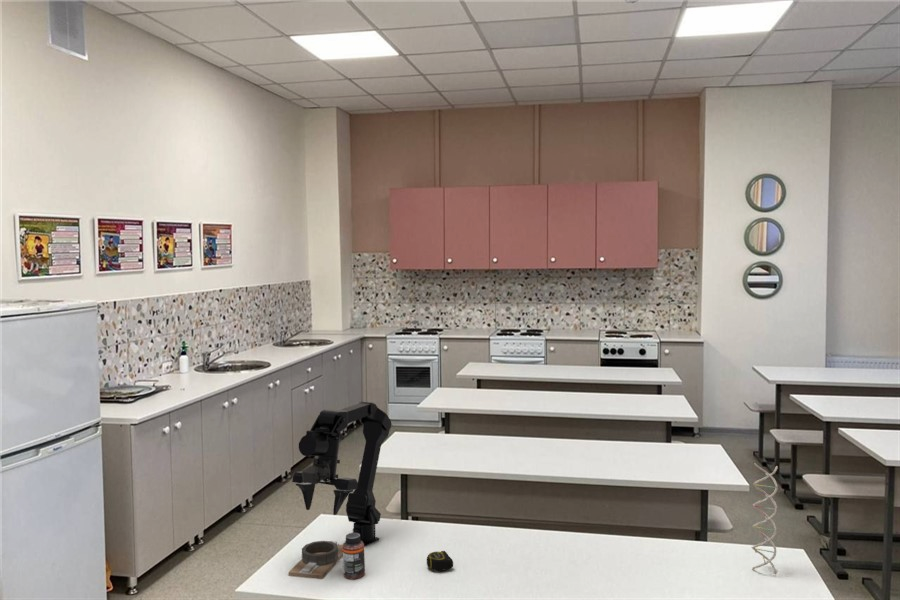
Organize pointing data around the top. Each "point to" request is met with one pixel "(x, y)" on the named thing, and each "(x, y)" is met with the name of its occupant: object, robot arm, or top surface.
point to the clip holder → (317, 559)
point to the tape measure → (439, 561)
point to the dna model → (766, 518)
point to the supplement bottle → (353, 556)
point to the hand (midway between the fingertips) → (321, 512)
